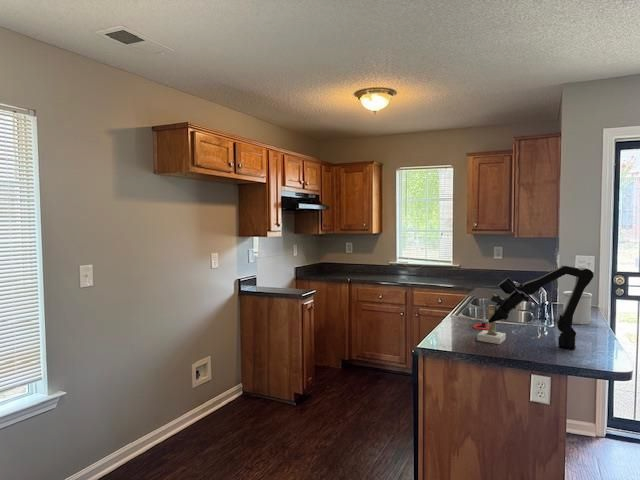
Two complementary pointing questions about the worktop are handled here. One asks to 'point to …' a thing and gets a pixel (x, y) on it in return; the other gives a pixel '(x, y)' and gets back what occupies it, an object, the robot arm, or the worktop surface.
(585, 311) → the utensil holder
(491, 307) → the pin
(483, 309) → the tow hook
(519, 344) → the worktop surface
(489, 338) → the socket block
